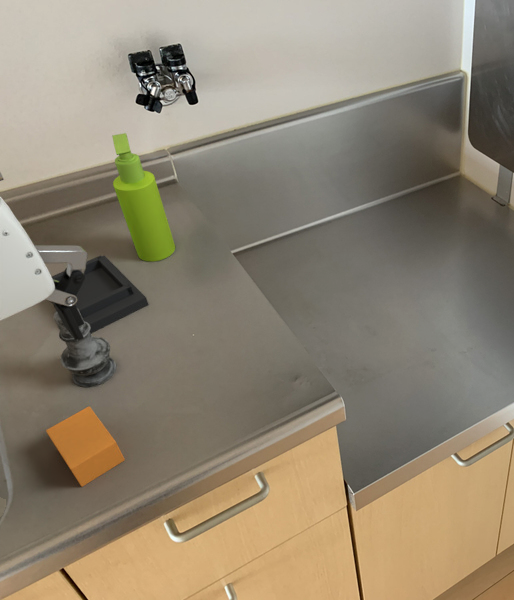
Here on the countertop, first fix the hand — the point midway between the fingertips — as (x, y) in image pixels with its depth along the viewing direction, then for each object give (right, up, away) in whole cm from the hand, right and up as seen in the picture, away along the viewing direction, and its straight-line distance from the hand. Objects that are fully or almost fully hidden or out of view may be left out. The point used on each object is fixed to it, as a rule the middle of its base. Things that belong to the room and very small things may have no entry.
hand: (23, 357), depth 58 cm
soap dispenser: (-4, +13, +42) cm, 44 cm away
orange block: (0, -12, +13) cm, 18 cm away
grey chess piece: (-4, -4, +22) cm, 23 cm away
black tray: (-10, +6, +33) cm, 35 cm away
